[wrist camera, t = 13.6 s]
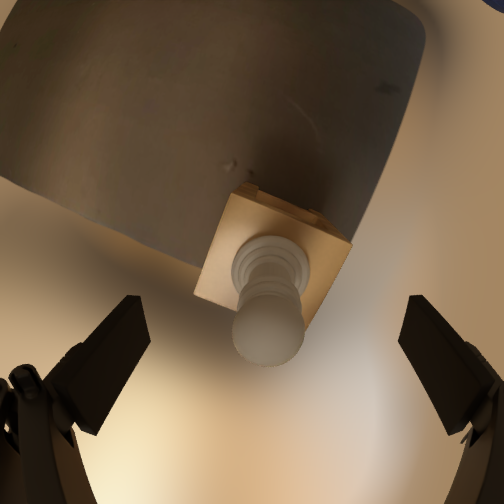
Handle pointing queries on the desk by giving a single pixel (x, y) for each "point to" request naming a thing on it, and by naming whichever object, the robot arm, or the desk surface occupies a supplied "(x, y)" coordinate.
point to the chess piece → (269, 300)
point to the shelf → (271, 224)
